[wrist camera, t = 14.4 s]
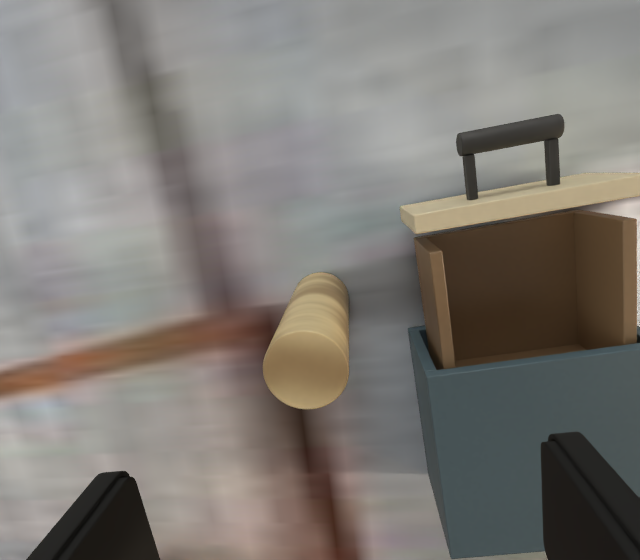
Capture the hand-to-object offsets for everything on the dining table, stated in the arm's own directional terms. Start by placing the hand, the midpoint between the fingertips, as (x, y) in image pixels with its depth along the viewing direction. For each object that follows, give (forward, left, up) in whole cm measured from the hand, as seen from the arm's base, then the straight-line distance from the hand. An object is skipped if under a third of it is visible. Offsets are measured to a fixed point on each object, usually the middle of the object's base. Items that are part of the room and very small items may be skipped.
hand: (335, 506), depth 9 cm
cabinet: (+13, +12, -25) cm, 31 cm away
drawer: (+1, +12, -24) cm, 27 cm away
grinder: (+2, -2, -25) cm, 25 cm away
